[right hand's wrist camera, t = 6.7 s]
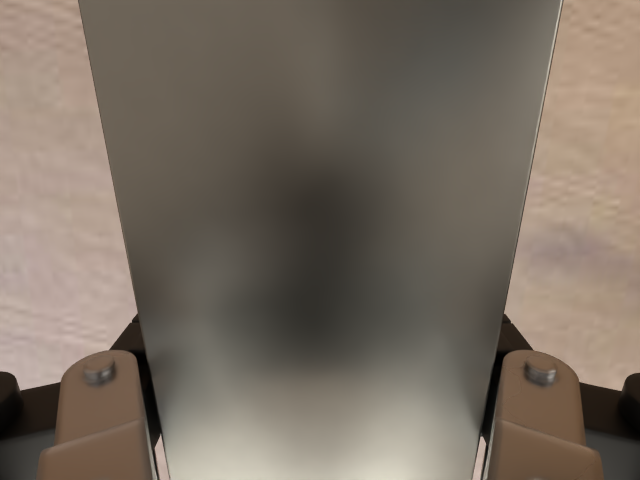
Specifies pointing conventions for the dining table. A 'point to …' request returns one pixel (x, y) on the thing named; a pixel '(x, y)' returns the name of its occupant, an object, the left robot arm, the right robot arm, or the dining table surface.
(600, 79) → the dining table surface
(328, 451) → the box
